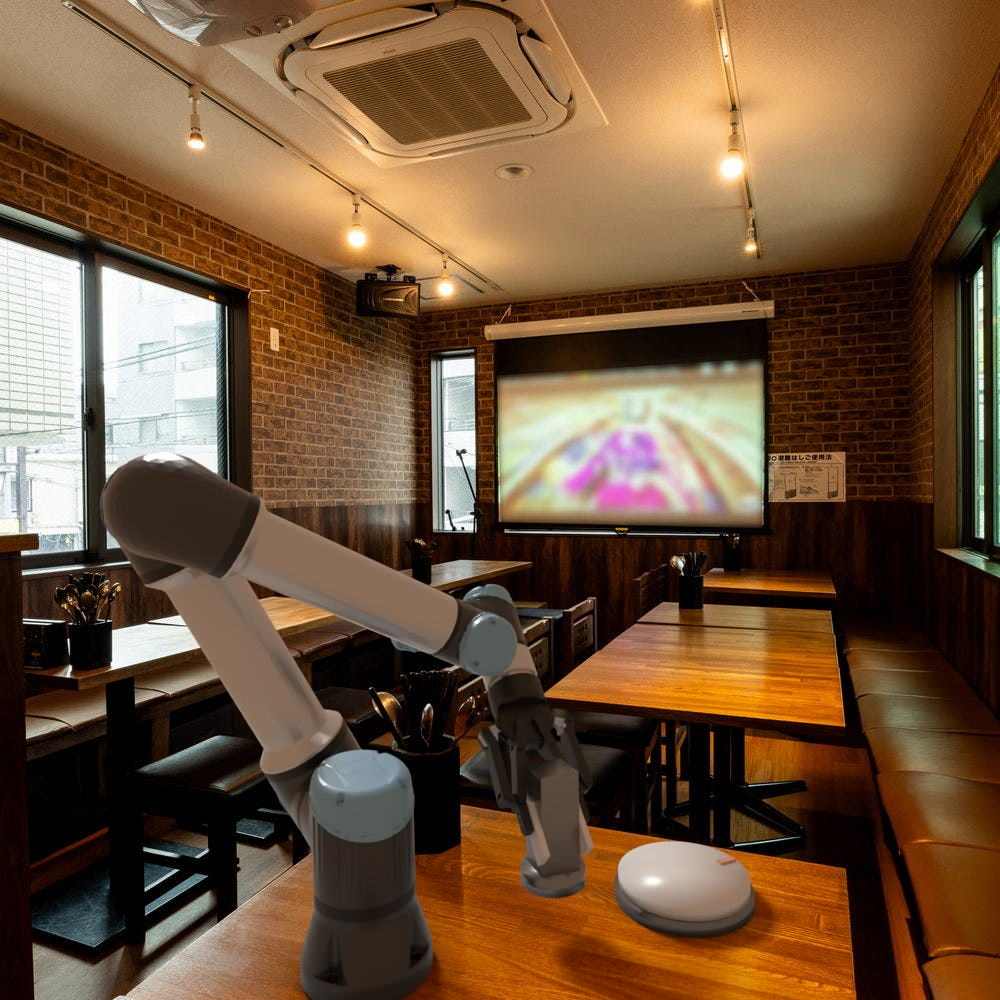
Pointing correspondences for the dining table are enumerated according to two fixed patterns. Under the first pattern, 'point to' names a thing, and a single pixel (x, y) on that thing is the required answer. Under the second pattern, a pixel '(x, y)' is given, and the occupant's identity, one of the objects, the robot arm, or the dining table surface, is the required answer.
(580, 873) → the square post on disc
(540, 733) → the robot arm
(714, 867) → the turntable platter
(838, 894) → the dining table surface
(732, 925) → the base
